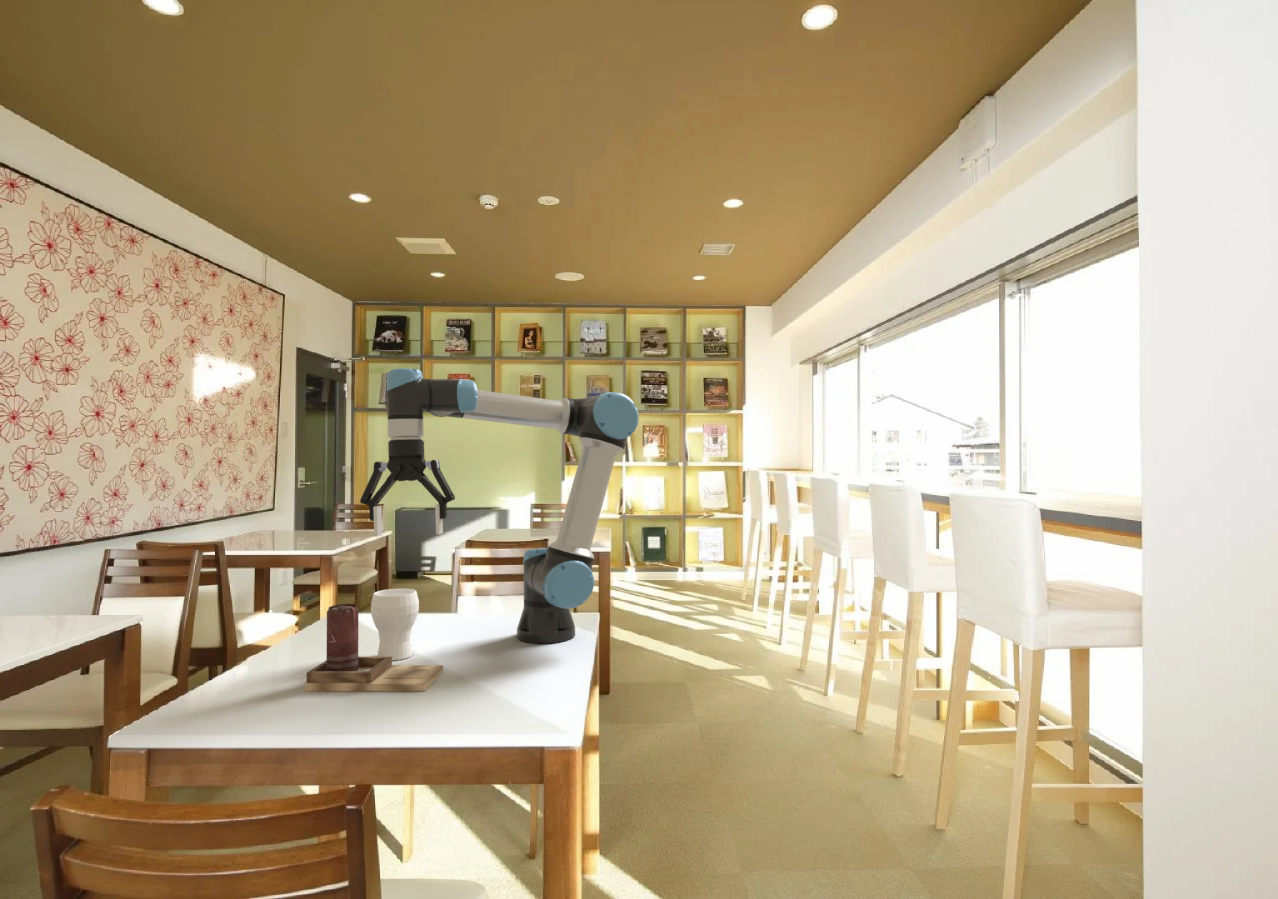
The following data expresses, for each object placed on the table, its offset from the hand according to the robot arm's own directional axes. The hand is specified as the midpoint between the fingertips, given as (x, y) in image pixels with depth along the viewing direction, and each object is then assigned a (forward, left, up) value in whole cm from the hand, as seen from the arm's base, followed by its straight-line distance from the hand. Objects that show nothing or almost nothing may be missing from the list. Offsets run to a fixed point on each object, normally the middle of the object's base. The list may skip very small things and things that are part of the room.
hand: (409, 534), depth 149 cm
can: (+11, +8, -28) cm, 31 cm away
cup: (+7, -10, -30) cm, 32 cm away
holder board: (+4, +8, -30) cm, 31 cm away
